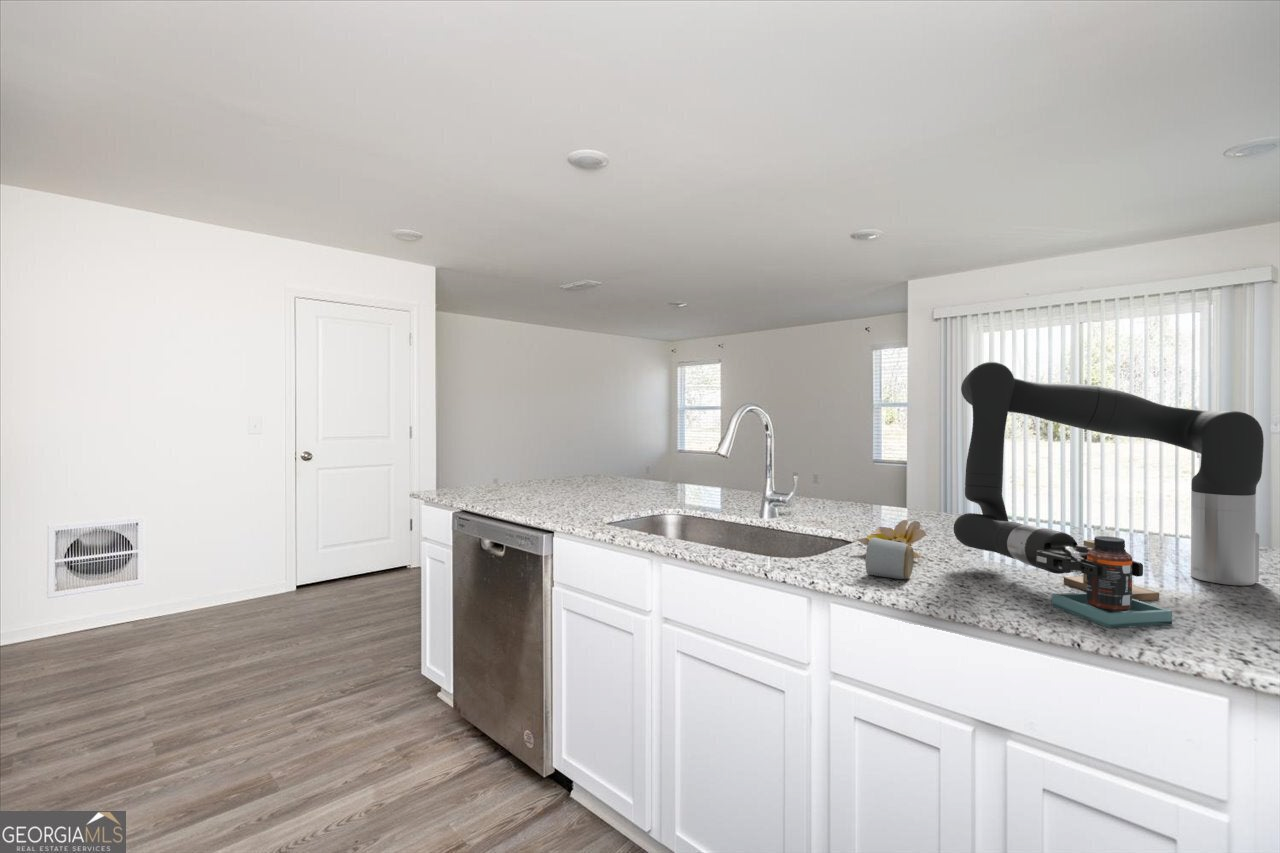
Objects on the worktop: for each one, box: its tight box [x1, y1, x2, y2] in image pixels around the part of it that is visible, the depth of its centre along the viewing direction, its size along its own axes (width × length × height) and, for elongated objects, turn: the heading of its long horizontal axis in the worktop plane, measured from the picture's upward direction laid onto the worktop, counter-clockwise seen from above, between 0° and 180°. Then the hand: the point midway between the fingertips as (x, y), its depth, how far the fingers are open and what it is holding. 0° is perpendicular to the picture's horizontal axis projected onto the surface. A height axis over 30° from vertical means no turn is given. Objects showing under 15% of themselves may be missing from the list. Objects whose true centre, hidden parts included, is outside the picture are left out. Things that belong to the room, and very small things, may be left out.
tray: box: [1051, 591, 1173, 629], centre depth 102 cm, size 11×11×2 cm
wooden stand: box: [1063, 539, 1160, 601], centre depth 115 cm, size 8×12×9 cm, turn 8°
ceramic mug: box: [865, 538, 915, 580], centre depth 128 cm, size 11×8×8 cm
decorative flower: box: [854, 519, 927, 559], centre depth 144 cm, size 15×11×10 cm
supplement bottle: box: [1086, 535, 1133, 611], centre depth 102 cm, size 6×6×11 cm
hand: (1122, 571), depth 99 cm, fingers closed on supplement bottle, 6 cm apart
